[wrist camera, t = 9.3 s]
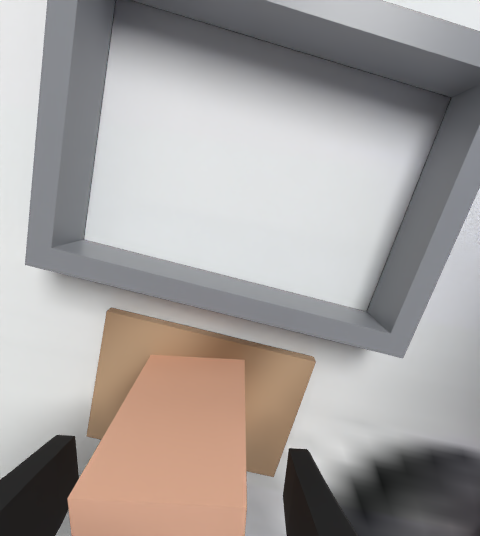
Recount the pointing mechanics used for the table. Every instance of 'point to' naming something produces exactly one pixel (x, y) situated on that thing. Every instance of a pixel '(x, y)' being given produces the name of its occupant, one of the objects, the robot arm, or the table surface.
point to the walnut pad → (206, 346)
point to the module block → (170, 455)
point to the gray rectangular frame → (297, 38)
